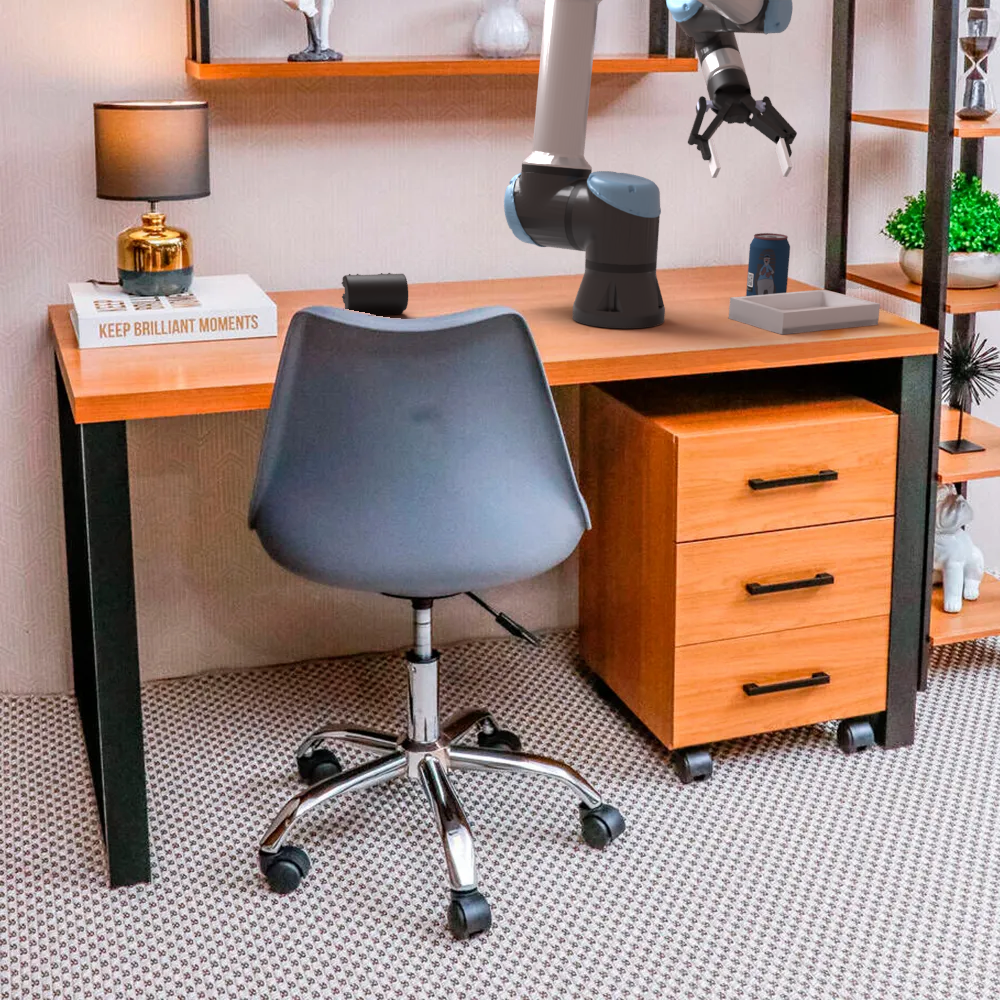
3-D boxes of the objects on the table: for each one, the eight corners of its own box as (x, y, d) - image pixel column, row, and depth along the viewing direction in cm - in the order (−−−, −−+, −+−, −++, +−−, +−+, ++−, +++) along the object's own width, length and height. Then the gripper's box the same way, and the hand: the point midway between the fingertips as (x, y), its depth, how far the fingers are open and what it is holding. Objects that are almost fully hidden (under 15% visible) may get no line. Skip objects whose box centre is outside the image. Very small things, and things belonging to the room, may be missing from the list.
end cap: (348, 320, 232) (348, 278, 230) (340, 312, 238) (339, 271, 236) (408, 317, 235) (408, 276, 233) (398, 309, 241) (398, 269, 239)
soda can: (773, 299, 256) (779, 232, 252) (792, 307, 250) (798, 237, 246) (738, 301, 254) (743, 233, 250) (756, 308, 248) (762, 238, 244)
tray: (781, 334, 227) (783, 312, 226) (728, 318, 239) (730, 297, 238) (877, 324, 236) (880, 303, 235) (821, 309, 248) (823, 289, 247)
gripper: (782, 94, 270) (809, 184, 261) (656, 94, 265) (680, 186, 256) (796, 66, 264) (824, 157, 255) (667, 65, 258) (692, 159, 249)
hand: (752, 172), depth 255 cm, fingers open, 13 cm apart
